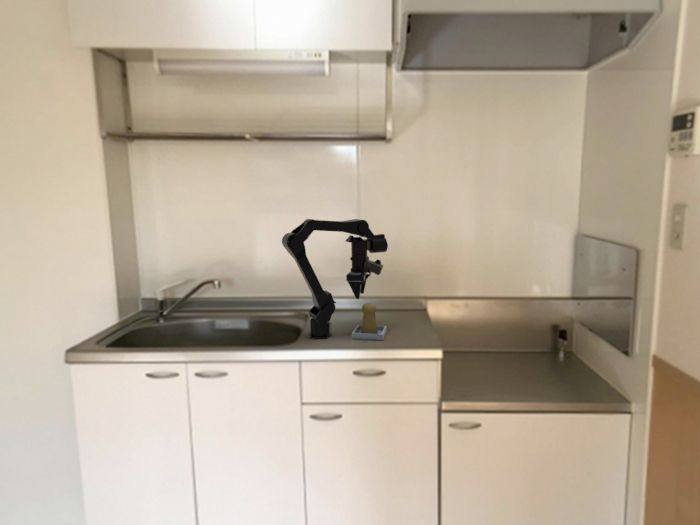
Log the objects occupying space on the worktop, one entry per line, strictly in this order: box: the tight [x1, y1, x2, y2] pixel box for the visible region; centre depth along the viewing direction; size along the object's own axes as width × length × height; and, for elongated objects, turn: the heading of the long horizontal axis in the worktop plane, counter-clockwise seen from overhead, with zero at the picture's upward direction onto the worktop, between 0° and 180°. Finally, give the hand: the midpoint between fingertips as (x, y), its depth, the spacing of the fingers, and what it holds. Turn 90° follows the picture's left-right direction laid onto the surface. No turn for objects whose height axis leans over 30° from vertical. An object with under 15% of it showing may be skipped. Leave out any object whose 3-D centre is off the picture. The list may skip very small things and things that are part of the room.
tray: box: [351, 324, 388, 342], centre depth 166 cm, size 11×11×2 cm
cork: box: [361, 302, 378, 334], centre depth 166 cm, size 6×6×11 cm
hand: (359, 296), depth 171 cm, fingers open, 9 cm apart
